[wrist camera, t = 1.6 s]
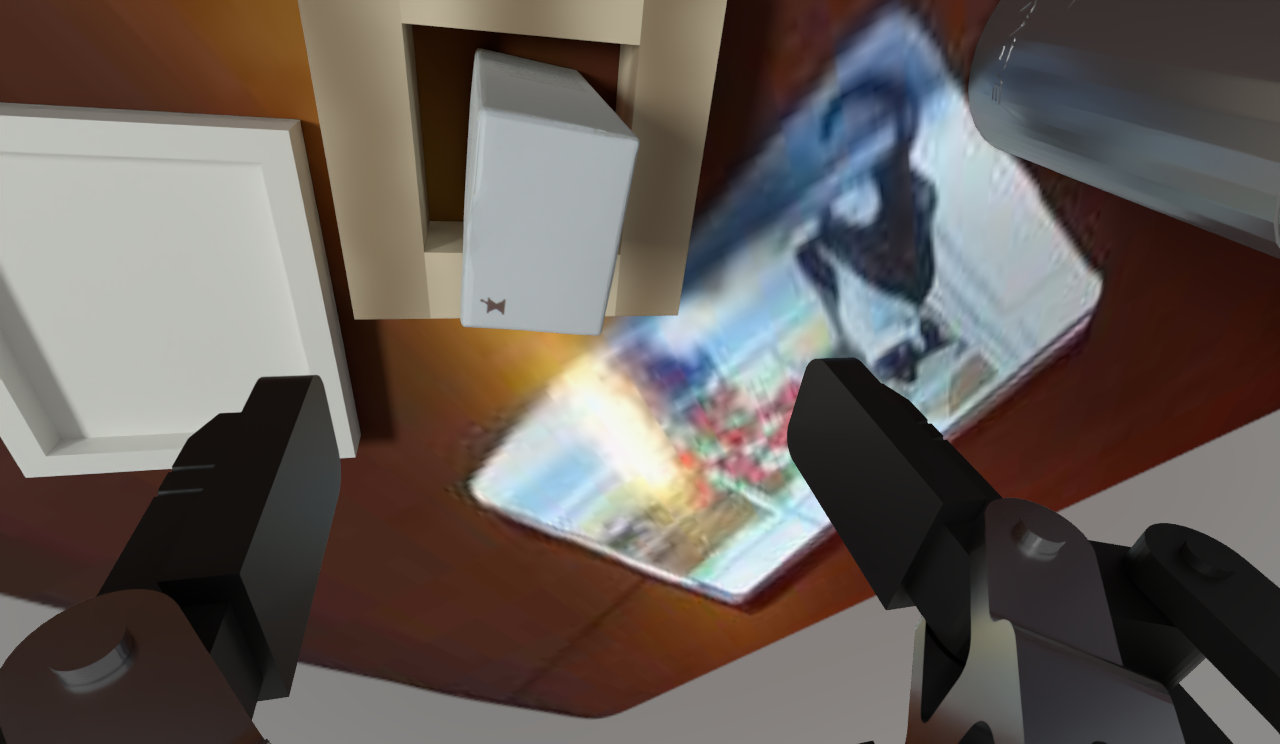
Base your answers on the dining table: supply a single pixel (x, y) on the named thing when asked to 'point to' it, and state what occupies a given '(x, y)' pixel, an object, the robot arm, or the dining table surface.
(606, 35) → the frame
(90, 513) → the dining table surface
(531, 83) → the skincare box
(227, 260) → the grey tray
